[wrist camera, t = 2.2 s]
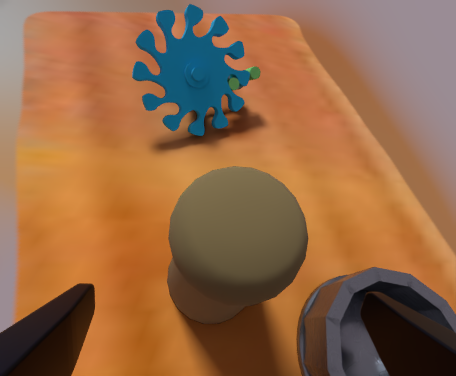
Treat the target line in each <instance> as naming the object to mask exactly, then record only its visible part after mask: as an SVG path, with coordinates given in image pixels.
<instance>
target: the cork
mask: <svg viewBox="0 0 456 376" xmlns="http://www.w3.org/2000/svg"><path fill="white" fill-rule="evenodd" d="M169 243H170V247H171V252H172V256H173V258H172V260H171V263H170V265H169V268H168V279H167V283H168V287H169V292H170V296H171V298H172V300H173V301H174V303H175V305H176V306H177V308H178V309H179V310H180V311H181V312H182V313H183V314H185V315H186V316H187V317H188V318H189V319H192V320H195V321H198V322H200V323H203V324H214V323H221V322H223V321H226V320H229V319H231V318H233V317H234V316H235V315H236V314H238V313H239V312H240V311H241V310H242V309H243V308H244V307H245V306H252V305H255V304H258V303H261V302H263V301H266V300H269V299H271V298H274V297H276V296H277V295H278V294H279V293H281V292H282V291H283V290H284V289H285V288H286V287H287V286H289V285H290V284H291V283H292V282H293V280H294V278H295V277H296V275H297V273H298V271H299V269H300V267H301V265H302V264H303V262H304V260H305V257H306V250H307V244H308V233H307V227H306V221H305V217H304V214H303V212H302V210H301V208H300V206H299V204H298V202H297V200H296V198H295V197H294V195H293V194H292V193H291V192H290V191H289V190H288V189H287V187H286V186H285V185H284V184H283V183H281V182H280V181H278V180H277V179H275V178H274V177H273V176H271V175H270V174H268V173H265V172H262V171H259V170H257V169H254V168H248V167H236V166H233V167H227V168H222V169H217V170H212V171H210V172H209V173H207V174H205V175H203V176H201V177H199V178H197V179H196V180H195V181H194V182H193V183H192V184H191V185H190V186H189V187H188V188H187V189H186V190H185V191H184V192H183V193H182V195H181V196H180V198H179V200H178V202H177V204H176V206H175V208H174V211H173V213H172V215H171V219H170V229H169Z"/></svg>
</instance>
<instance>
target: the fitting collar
mask: <svg viewBox="0 0 456 376" xmlns="http://www.w3.org/2000/svg"><path fill="white" fill-rule="evenodd" d="M368 292H380V293H382V294H384V295H386V296H388V297H390V298H392V299H393V300H395V301H397V302H399V303H401V304H403V305H405V306H406V307H408V308H410V309H412V310H414V311H416V312H418V313H419V314H421V315H423V316H425V317H427V318H429V319H431V320H432V321H434V322H436V323H438V324H440V325H442V326H444V327H446V328H447V329H449V330H451V331H453V332H455V333H456V314H455V313H454V312H453V310H452V309H451V307H450V306H449V304H448V303H447V301H446V300H445V299H443V298H442V297H440V296H439V295H438V294H436V293H435V292H434V291H432V290H431V289H430V288H428V287H427V286H426V285H424V284H423V283H422V282H420V281H419V280H418V279H416V278H415V277H413V276H412V275H411V274H407V273H402V272H397V271H392V270H387V269H382V268H377V267H372V268H369V269H366V270H363V271H360V272H356V273H353V274H350V275H344V276H339V277H336V278H333V279H330V280H328V281H326V282H324V283H322V284H321V285H320V286H318V287H317V288H316V289H315V290H314V291H313V292H312V293H311V295H310V296H309V298H308V299H307V301H306V302H305V304H304V307H303V309H302V311H301V314H300V318H299V322H298V328H297V353H298V360H299V365H300V369H301V373H302V376H389V374H388V372H387V370H386V369H385V367H384V365H383V363H382V361H381V359H380V357H379V355H378V353H377V351H376V349H375V346H374V344H373V342H372V340H371V338H370V336H369V334H368V332H367V329H366V327H365V325H364V323H363V321H362V319H361V315H360V311H361V307H362V304H363V301H364V298H365V295H366V294H367V293H368Z"/></svg>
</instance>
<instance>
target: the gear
mask: <svg viewBox="0 0 456 376" xmlns="http://www.w3.org/2000/svg"><path fill="white" fill-rule="evenodd" d="M184 16H185V22H186V27H185V32H184V34H183V36H182V38H181V39H176V38H175V37H174V36H173V35H172V32H171V29H172V26H173V24H174V22H175V15H174V12H173V11H171V10H163V11H160V12H158V13H157V15H156V21H157V24H158V26H159V27H160V28H161V30H162V31H163V33H164V36H165V39H166V53H160V52H158V51H157V50H156V48H155V39H154V36H153V34H152V33H151V32H150V31H149V30H145V31H143V32H142V33H141V34H140V35H139V37H138V38H137V39H136V44H137V46H138V47H139V48H140V49H141V50H144V51H146V52H147V53H149V54H150V55H151V56H152V57H153V58H154V59H155V60H156V62H157V63H158V65H159V67H160V74H159V75H153V74H152V73H151V72H150V71H149V69H148V68H147V66H146V65H145V64H144V63H142V62H139V61H138V62H136V63H135V65H134V68H133V74H132V78H133V79H135V80H136V81H146V80H148V81H152V82H155V83H157V84H159V85H160V86H162V87H163V88H164V89H165V96H164V97H163V98H158V97H157V96H155V95H153V94H150V93H148V94H145V95H143V96H142V100H143V104H144V106H145V108H146V110H148V111H152V110H155V109H156V108H157V107H158V106H160V105H161V104H163V103H168V102H170V103H176V104H177V105H178V106H179V112H178V114H176V115H167V116H165V117H164V118H163V120H162V121H163V123H164V125H165V126H166V127H167V128H169V129H170V130H171V131H175V130H177V129H178V127H179V124H180V121H181V119H182V118H183V117H184V116H185V115H186V114H187V113H188V112H190V111H192V110H194V111H195V112H196V113H197V119H196V120H195V121H194V122H192V123H191V124H190V125H189V127H188V132H189V133H191V134H194V135H198V136H203V135H204V132H205V128H204V117H205V115H206V112H207V110H208V109H209V108H210V107H212V108H213V109H214V110H215V115H214V117H213V119H212V126H213V128H223V127H226V126H228V120H227V118H226V117H225V116H224V114H223V111H222V108H221V98H222V96H223V95H224V94H225V95H226V96H227V97H228V107H229V109H230V110H231V111H233V112H237V111H238V110H240V109H241V108H242V106H243V105H244V104H245V103H244V100H243V99H242V98H241V97H239V96H237V95H235V94H234V93H233V92H232V90H237V89H241V88H242V87H243V86H247V84H248V81H249V80H253V79H257V78H259V76H260V69H259V68H258V67H251V68H248V69H246V70H243V71H237V70H234V69H232V68H231V67H229V66H228V65H227V64H226V63H225V61H224V57H225V55H229V56H230V57H231V58H232V59H235V60H237V59H240V58H242V57H243V56H244V47H243V44H242V42H241V41H237V42H235V43H233V44H231V45H230V46H229V47H228V48H217V47H215V46H214V45H213V43H212V37H213V36H216V37H221V36H223V35H224V34H225V33H227V32H228V30H229V28H228V25H227V23H226V22H225V20H224V19H223V18H222V17H221V16H219V17H217V18H216V19H215V20H214V21H213V22H212V24H211V27H210V30H209V31H208V33H207V34H206V35H204V36H203V37H196V36H195V35H194V33H193V26H194V25H196V24H198V23H199V22H200V21H201V19H202V18H203V11H202V10H201V9H200V8H198V7H196V6H194V5H191V4H189V5H188V7H187V8H186V10H185V13H184Z"/></svg>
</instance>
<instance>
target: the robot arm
mask: <svg viewBox="0 0 456 376" xmlns="http://www.w3.org/2000/svg"><path fill="white" fill-rule="evenodd" d="M94 310H95V290H94V285H93V284H85V283H80V284H77V285H75V286H74V287H72V288H71V289H69V290H67V291H66V292H64V293H63V294H61V295H59V296H58V297H56V298H55V299H53V300H52V301H50V302H48V303H47V304H45V305H44V306H42V307H40V308H39V309H37V310H36V311H34V312H33V313H31V314H29V315H28V316H26V317H25V318H23V319H22V320H20V321H18V322H17V323H15V324H14V325H12V326H10V327H9V328H7V329H6V330H4V331H3V332H1V333H0V376H71V375H72V372H73V370H74V368H75V365H76V363H77V360H78V357H79V354H80V351H81V349H82V346H83V343H84V340H85V337H86V334H87V332H88V329H89V326H90V323H91V320H92V318H93V315H94ZM360 315H361V319H362V321H363V323H364V325H365V327H366V329H367V332H368V334H369V336H370V338H371V340H372V342H373V344H374V346H375V349H376V351H377V353H378V355H379V357H380V359H381V361H382V363H383V365H384V367H385V369H386V370H387V372H388V374H389V376H456V333H455V332H453V331H451V330H449V329H447V328H446V327H444V326H442V325H440V324H438V323H436V322H434V321H432V320H431V319H429V318H427V317H425V316H423V315H421V314H419V313H418V312H416V311H414V310H412V309H410V308H408V307H406V306H405V305H403V304H401V303H399V302H397V301H395V300H393V299H392V298H390V297H388V296H386V295H384V294H382V293H380V292H368V293H367V294H366V295H365V298H364V301H363V304H362V307H361V311H360Z"/></svg>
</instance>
